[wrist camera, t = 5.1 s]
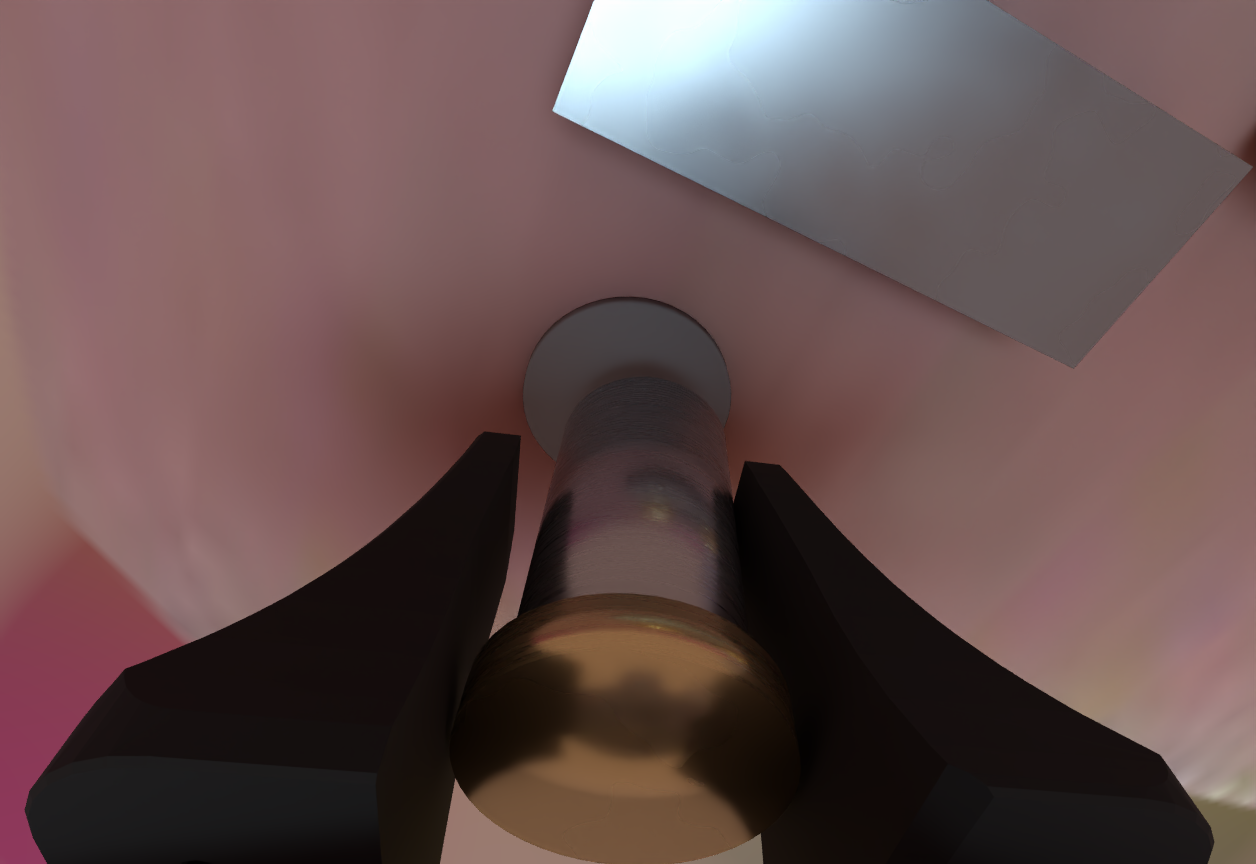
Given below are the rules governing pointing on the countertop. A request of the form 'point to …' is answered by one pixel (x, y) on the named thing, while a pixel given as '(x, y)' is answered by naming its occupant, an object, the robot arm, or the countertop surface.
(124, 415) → the countertop surface
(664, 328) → the pad
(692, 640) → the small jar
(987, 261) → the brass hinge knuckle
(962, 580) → the countertop surface
